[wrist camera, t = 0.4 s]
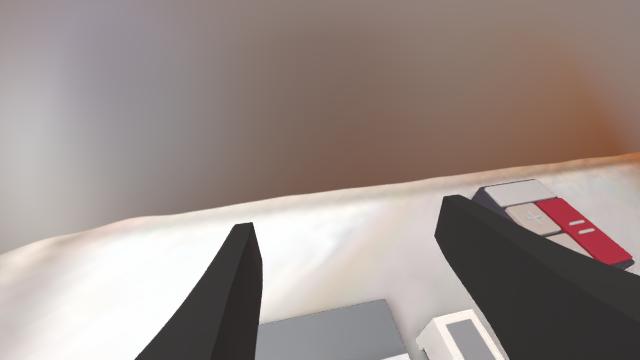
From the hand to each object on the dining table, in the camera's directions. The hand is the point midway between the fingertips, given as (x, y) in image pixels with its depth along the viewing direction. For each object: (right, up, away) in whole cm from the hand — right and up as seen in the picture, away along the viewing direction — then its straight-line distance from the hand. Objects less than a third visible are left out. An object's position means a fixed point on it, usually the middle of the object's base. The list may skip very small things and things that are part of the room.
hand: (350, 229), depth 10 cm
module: (+11, -16, +14) cm, 24 cm away
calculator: (+29, -6, +28) cm, 41 cm away
